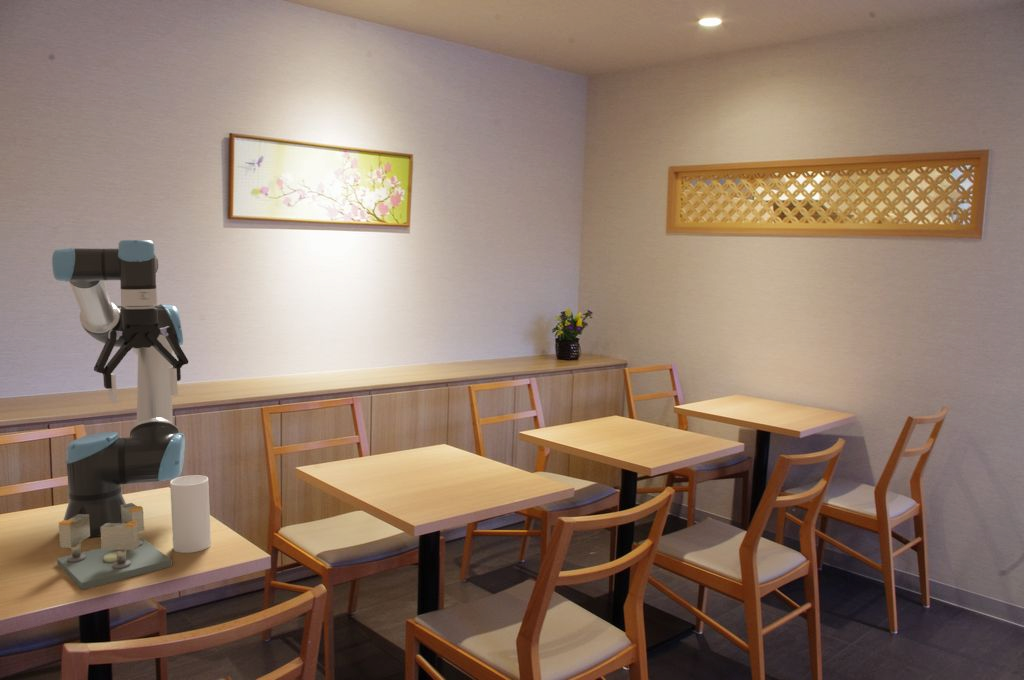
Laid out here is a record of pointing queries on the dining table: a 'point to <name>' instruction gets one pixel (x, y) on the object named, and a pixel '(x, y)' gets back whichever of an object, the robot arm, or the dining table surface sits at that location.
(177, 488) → the cup
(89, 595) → the dining table surface
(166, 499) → the dining table surface
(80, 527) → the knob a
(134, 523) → the knob
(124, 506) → the knob
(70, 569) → the board
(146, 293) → the robot arm
